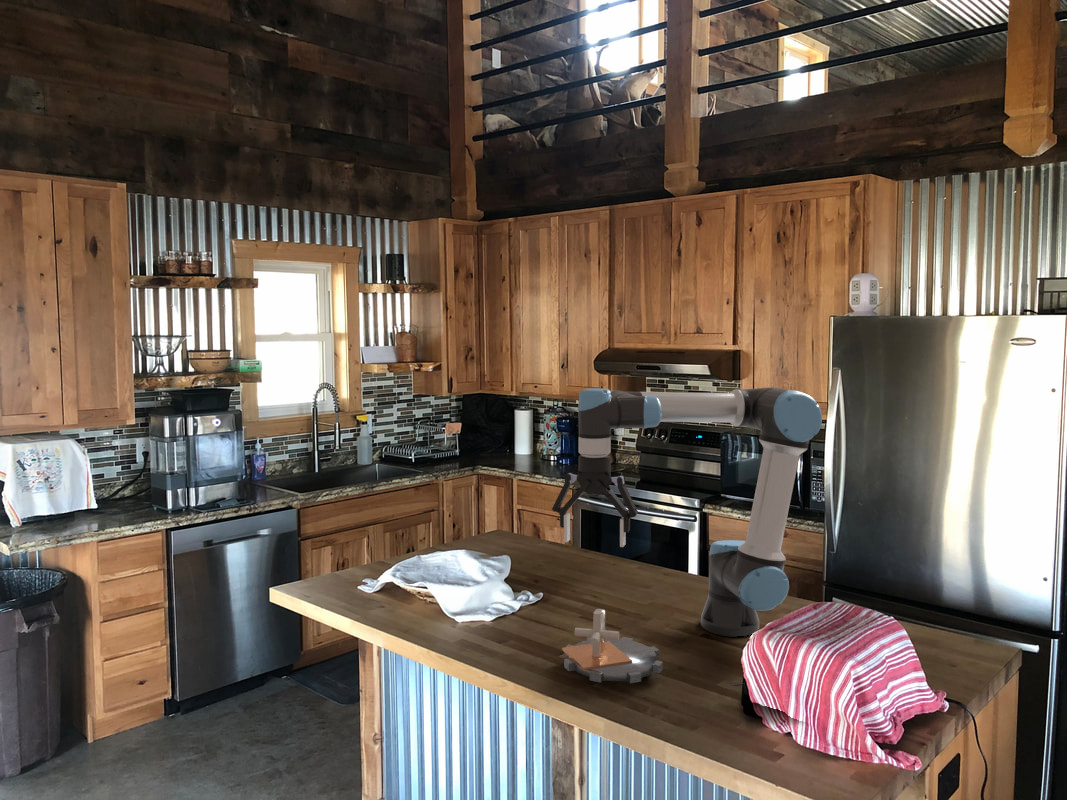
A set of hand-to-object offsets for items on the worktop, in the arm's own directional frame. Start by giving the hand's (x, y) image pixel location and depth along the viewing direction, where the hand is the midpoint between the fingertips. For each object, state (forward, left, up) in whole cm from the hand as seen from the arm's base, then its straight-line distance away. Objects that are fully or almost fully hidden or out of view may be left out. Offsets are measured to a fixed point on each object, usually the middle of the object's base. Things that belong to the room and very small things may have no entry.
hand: (594, 543), depth 202 cm
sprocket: (-7, +6, -26) cm, 27 cm away
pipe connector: (-4, +10, -23) cm, 26 cm away
